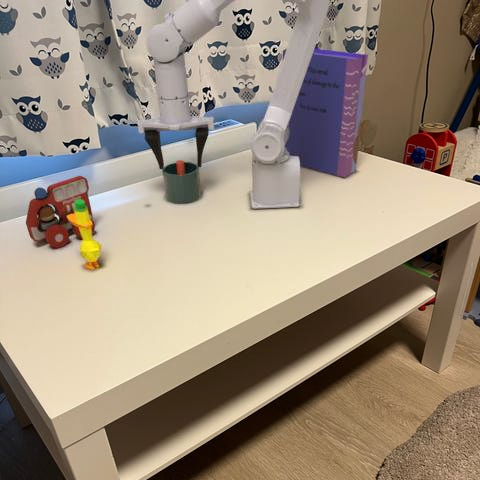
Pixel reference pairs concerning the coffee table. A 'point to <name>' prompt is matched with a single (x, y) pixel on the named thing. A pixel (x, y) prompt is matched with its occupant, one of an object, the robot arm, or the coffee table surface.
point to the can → (182, 183)
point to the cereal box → (329, 113)
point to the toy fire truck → (57, 211)
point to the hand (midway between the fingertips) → (180, 166)
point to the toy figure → (85, 234)
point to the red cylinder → (180, 167)
